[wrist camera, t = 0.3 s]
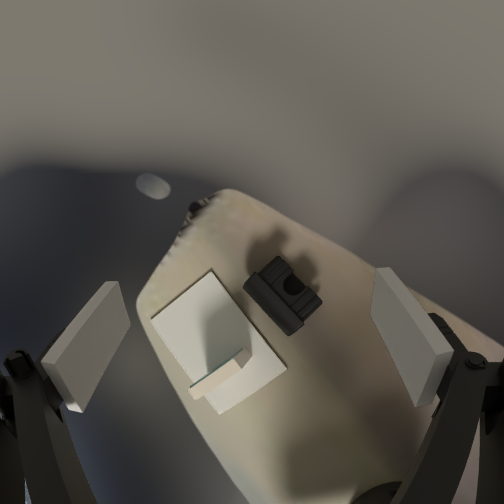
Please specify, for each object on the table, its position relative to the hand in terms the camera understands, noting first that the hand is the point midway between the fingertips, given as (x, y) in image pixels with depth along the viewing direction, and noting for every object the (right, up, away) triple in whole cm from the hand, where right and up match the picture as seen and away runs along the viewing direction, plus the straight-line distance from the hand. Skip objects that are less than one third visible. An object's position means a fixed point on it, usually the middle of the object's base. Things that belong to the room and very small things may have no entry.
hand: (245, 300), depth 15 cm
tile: (-4, -15, +27) cm, 32 cm away
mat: (-6, -13, +34) cm, 36 cm away
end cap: (+5, -5, +34) cm, 35 cm away
